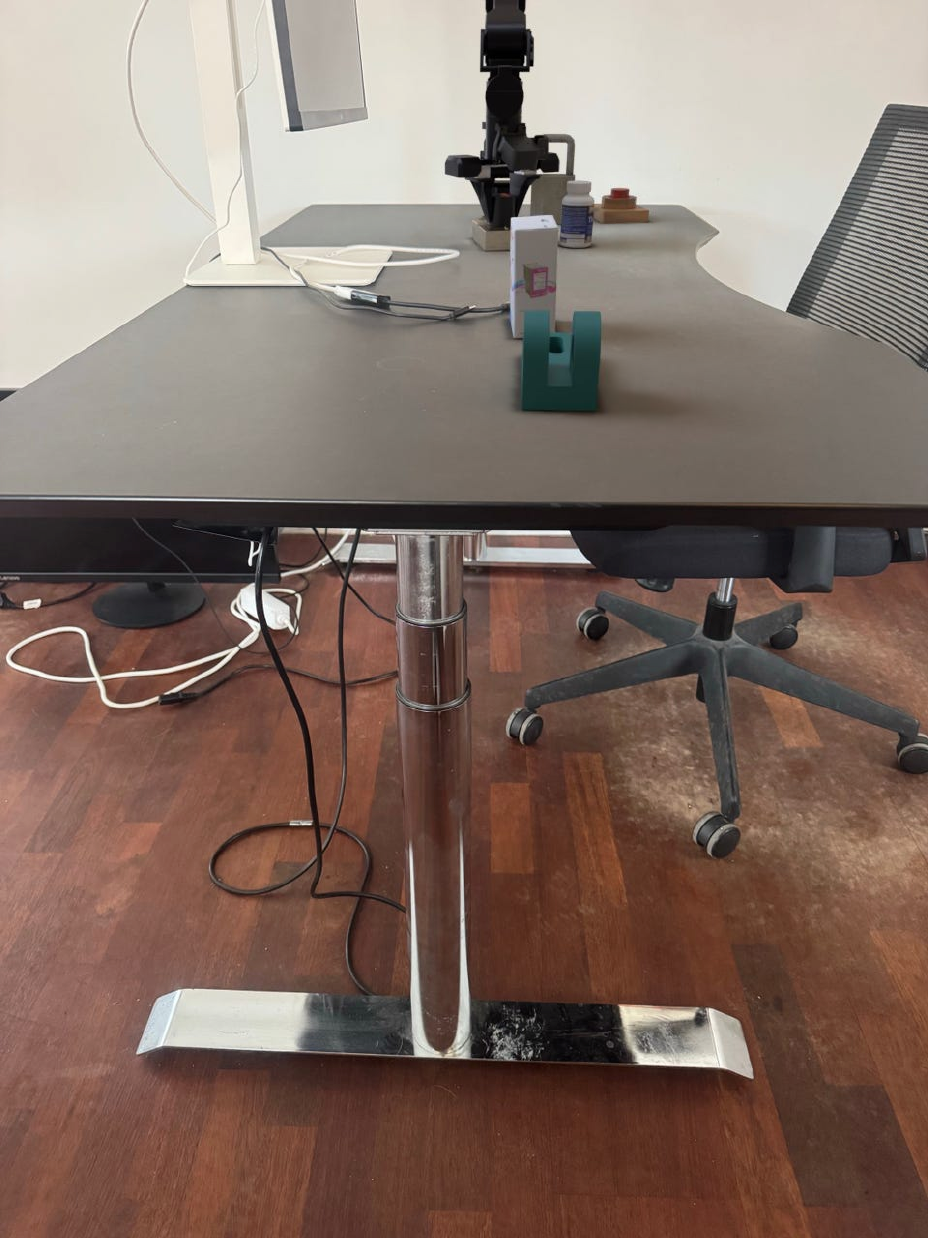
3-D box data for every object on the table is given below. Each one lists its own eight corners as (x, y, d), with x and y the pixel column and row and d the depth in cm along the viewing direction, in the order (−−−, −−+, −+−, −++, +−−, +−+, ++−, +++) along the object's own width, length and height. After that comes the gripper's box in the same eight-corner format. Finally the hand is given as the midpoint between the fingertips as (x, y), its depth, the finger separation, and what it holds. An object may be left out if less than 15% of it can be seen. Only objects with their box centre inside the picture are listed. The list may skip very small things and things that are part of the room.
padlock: (530, 220, 170) (533, 132, 162) (572, 221, 169) (577, 133, 161) (529, 224, 167) (532, 134, 158) (572, 224, 166) (578, 134, 158)
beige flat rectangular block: (470, 238, 154) (470, 218, 152) (527, 236, 155) (528, 217, 153) (483, 250, 144) (483, 230, 142) (543, 248, 145) (544, 228, 144)
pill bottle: (592, 248, 145) (597, 183, 140) (560, 248, 146) (564, 183, 140) (589, 242, 150) (594, 179, 145) (558, 242, 150) (561, 179, 145)
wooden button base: (588, 215, 175) (589, 193, 173) (631, 214, 176) (633, 192, 174) (603, 223, 167) (605, 200, 165) (648, 222, 168) (650, 199, 166)
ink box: (507, 319, 106) (510, 213, 100) (548, 319, 106) (553, 213, 100) (511, 339, 99) (514, 226, 93) (555, 338, 99) (561, 225, 93)
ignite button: (607, 197, 171) (608, 187, 170) (625, 197, 171) (626, 187, 170) (613, 200, 168) (614, 190, 167) (631, 199, 168) (632, 189, 167)
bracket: (595, 411, 79) (603, 322, 75) (521, 409, 79) (524, 321, 75) (584, 353, 94) (589, 277, 90) (521, 352, 94) (524, 276, 90)
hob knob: (484, 223, 149) (484, 192, 146) (507, 221, 150) (508, 190, 148) (495, 227, 145) (496, 195, 143) (519, 225, 147) (520, 193, 144)
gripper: (474, 119, 129) (473, 232, 138) (580, 115, 136) (573, 224, 145) (442, 115, 138) (443, 222, 146) (544, 112, 145) (540, 215, 153)
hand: (501, 221), depth 147 cm, fingers closed on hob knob, 4 cm apart
